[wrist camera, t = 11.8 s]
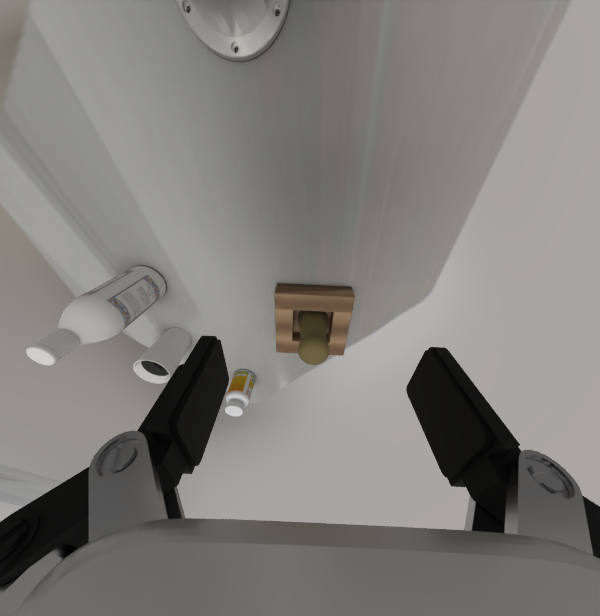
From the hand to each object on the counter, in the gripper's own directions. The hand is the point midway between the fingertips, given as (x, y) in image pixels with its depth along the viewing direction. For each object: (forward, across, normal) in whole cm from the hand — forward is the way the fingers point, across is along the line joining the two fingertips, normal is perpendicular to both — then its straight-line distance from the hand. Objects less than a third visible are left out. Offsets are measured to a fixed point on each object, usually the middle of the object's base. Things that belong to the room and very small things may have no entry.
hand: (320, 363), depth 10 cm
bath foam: (+30, +30, +12) cm, 44 cm away
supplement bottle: (+29, +14, +38) cm, 50 cm away
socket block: (+29, -2, +18) cm, 34 cm away
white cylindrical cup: (+30, +28, +26) cm, 49 cm away
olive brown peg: (+28, -2, +18) cm, 34 cm away
